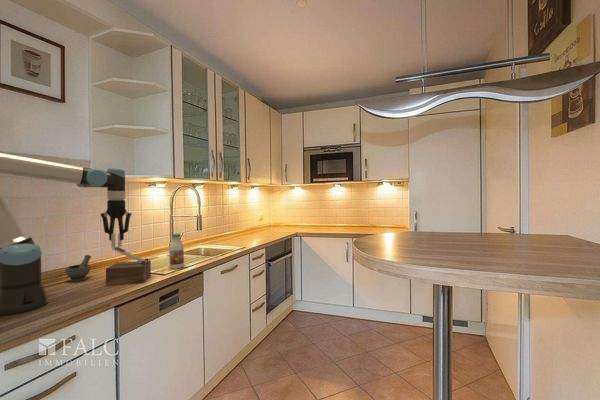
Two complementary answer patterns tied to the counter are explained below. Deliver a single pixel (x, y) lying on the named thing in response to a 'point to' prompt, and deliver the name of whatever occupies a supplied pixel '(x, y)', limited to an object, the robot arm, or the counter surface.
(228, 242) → the counter surface
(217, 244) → the counter surface
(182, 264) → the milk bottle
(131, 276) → the crate
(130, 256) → the clasp bar
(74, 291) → the counter surface
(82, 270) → the mortar and pestle
